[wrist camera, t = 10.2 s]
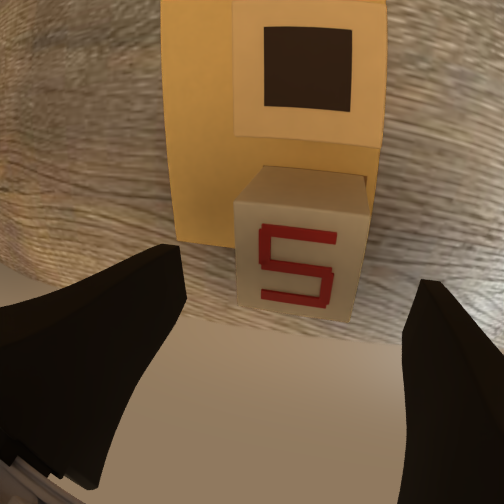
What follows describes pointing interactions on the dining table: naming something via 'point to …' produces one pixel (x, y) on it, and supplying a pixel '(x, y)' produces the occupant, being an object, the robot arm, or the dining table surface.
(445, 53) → the dining table surface
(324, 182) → the letter s
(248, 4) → the yellow wooden block holder
